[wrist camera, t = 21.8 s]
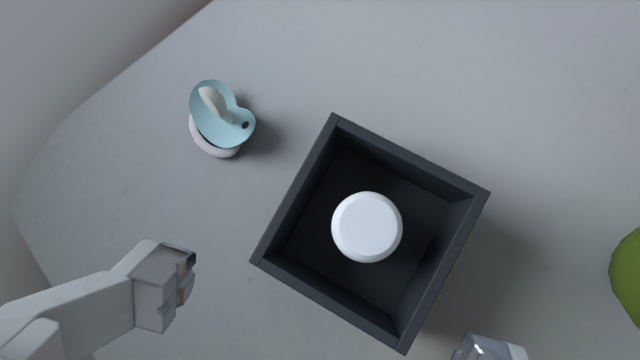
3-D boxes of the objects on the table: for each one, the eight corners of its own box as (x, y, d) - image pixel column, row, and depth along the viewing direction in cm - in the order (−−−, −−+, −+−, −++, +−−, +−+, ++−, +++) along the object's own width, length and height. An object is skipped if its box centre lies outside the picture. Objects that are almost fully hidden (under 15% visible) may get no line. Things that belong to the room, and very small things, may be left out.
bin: (273, 253, 34) (247, 261, 27) (338, 136, 35) (331, 111, 27) (394, 326, 32) (405, 356, 25) (461, 200, 33) (491, 192, 25)
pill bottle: (351, 266, 33) (348, 281, 24) (326, 213, 33) (313, 208, 25) (405, 241, 32) (422, 246, 24) (379, 188, 33) (385, 173, 24)
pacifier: (224, 172, 36) (268, 130, 36) (194, 163, 30) (247, 112, 30) (178, 120, 37) (221, 79, 37) (141, 101, 31) (192, 51, 31)
